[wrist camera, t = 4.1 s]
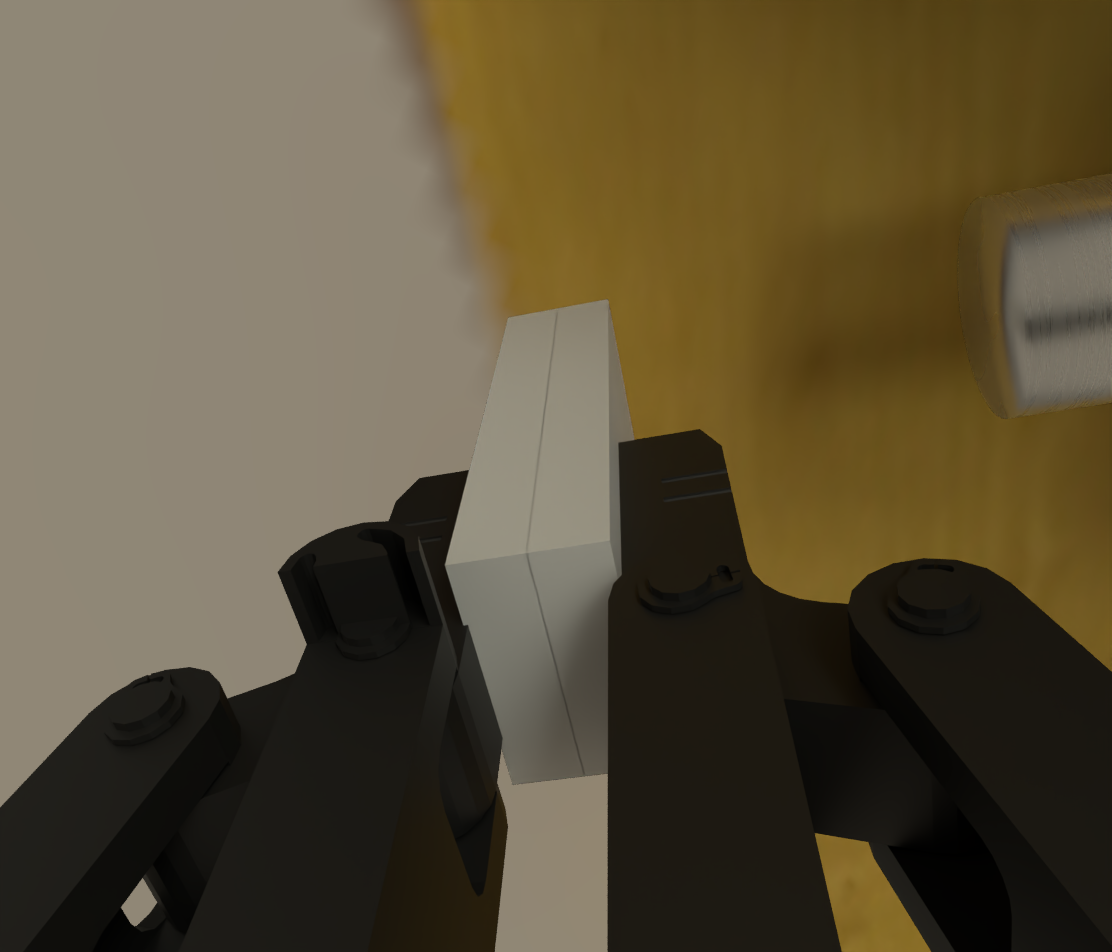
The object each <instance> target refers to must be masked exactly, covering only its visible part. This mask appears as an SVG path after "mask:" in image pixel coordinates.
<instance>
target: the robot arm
mask: <svg viewBox="0 0 1112 952" xmlns="http://www.w3.org/2000/svg"><path fill="white" fill-rule="evenodd" d="M278 574H279V577H280V579H281V582H282V584H283V587H284V589H285V591H286V594H287V596H288V599H289V601H290V604H291V606H292V609H293V611H294V613H295V616H296V618H297V621H298V624H299V626H300V629H301V631H302V633H303V636H304V638H305V641H306V643H307V646H306V648H305V651H304V653H303V655H302V658H301V660H300V663H299V665H298V667H297V670H296V672H295V674H293V675H290V676H288V677H286V678H283V679H281V680H279V681H276V682H273V683H270V684H268V685H265V686H262V687H259V688H256V689H253V690H251V691H248V692H245V693H242V694H239V695H236V696H234V697H231V698H228V699H227V697H226V695H225V693H224V691H223V689H222V686H221V684H220V682H219V681H218V680H217V679H216V678H215V677H214V676H213V675H212V674H211V673H210V672H209V671H205V670H200V669H196V668H191V667H188V668H179V669H170V670H164V671H160V672H157V673H153V674H151V675H149V676H148V675H146V676H144V677H142V678H139V679H137V680H134V681H133V682H131V683H130V684H129V685H128V686H126V687H124V688H122V689H120V690H118V691H117V692H115V693H113V694H111V695H110V696H109V697H108V698H107V699H106V700H104V701H103V702H102V703H101V704H100V705H98V706H97V707H96V708H95V709H94V710H93V711H91V712H90V713H89V714H88V715H87V716H86V717H85V718H84V719H83V720H82V721H81V723H80V724H79V725H78V726H77V727H76V728H75V729H74V730H73V731H72V732H71V733H70V734H69V735H68V736H67V737H66V738H65V739H64V741H63V742H62V743H61V744H60V745H59V746H58V747H57V748H56V749H55V750H54V751H53V752H52V753H51V754H50V755H49V757H47V759H46V760H45V761H44V762H43V763H42V764H41V765H40V766H39V767H38V768H37V769H36V770H35V771H34V772H33V774H31V776H30V777H29V778H28V779H27V780H26V781H25V782H24V783H23V784H22V785H21V786H20V787H19V788H18V789H17V791H16V792H14V794H13V795H12V796H11V797H10V798H9V799H8V800H7V801H6V802H5V803H4V804H3V805H2V806H1V807H0V952H495V942H496V933H497V924H498V915H499V906H500V896H501V887H502V877H503V868H504V858H505V849H506V840H507V829H508V824H507V817H506V811H505V806H504V803H503V800H502V797H501V794H500V790H499V787H498V784H497V778H498V771H499V763H500V755H501V749H502V752H503V755H504V758H505V761H506V765H507V768H508V771H509V774H510V777H511V780H512V784H513V785H516V784H523V783H532V782H541V781H549V780H558V779H566V778H575V777H582V776H591V775H600V774H608V952H842V951H841V947H840V942H839V938H838V934H837V929H836V925H835V921H834V916H833V912H832V908H831V903H830V899H829V894H828V890H827V886H826V881H825V877H824V873H823V868H822V864H821V860H820V855H819V851H818V846H817V842H816V838H815V833H818V834H824V835H830V836H836V837H842V838H848V839H854V840H860V841H866V842H869V845H870V848H871V851H872V853H873V856H874V859H875V860H876V862H877V864H878V865H879V867H880V868H881V870H882V872H883V873H884V875H885V877H886V878H887V880H888V881H889V883H890V885H891V886H892V888H893V890H894V891H895V893H896V895H897V896H898V898H899V899H900V901H901V903H902V904H903V906H904V908H905V909H906V911H907V912H908V914H909V916H910V917H911V919H912V921H913V922H914V924H915V926H916V927H917V929H918V930H919V932H920V934H921V935H922V937H923V939H924V940H925V942H926V944H927V945H928V947H929V948H930V950H931V952H1112V672H1111V671H1110V670H1109V669H1108V668H1107V667H1106V666H1104V665H1103V664H1102V663H1101V662H1100V661H1099V660H1098V659H1097V658H1095V657H1094V656H1093V655H1092V654H1091V653H1090V652H1089V651H1087V650H1086V649H1085V648H1084V647H1083V646H1082V645H1081V644H1080V643H1078V642H1077V641H1076V640H1075V639H1074V638H1073V637H1072V636H1070V635H1069V634H1068V633H1067V632H1066V631H1065V630H1064V629H1062V628H1061V627H1060V626H1059V625H1058V624H1057V623H1056V622H1055V621H1053V620H1052V619H1051V618H1050V617H1049V616H1048V615H1047V614H1045V613H1044V612H1043V611H1042V610H1041V609H1040V608H1039V607H1038V606H1036V605H1035V604H1034V603H1033V602H1032V601H1031V600H1030V599H1028V598H1027V597H1026V596H1025V595H1024V594H1023V593H1022V592H1021V591H1019V590H1018V589H1017V588H1016V587H1015V586H1014V585H1013V584H1011V583H1010V582H1009V581H1007V580H1005V579H1004V578H1002V577H1000V576H999V575H997V574H995V573H994V572H992V571H990V570H989V569H987V568H984V567H980V566H976V565H973V564H969V563H965V562H962V561H958V560H946V559H926V558H923V559H917V560H911V561H905V562H899V563H893V564H891V565H889V566H886V567H884V568H882V569H880V570H877V571H875V572H873V573H871V574H868V575H867V576H866V577H865V578H864V579H863V580H862V581H861V582H860V583H859V584H858V585H857V586H856V587H855V588H854V589H853V590H852V593H851V597H850V601H849V604H841V603H827V602H818V601H811V600H804V599H798V598H795V597H792V596H789V595H786V594H783V593H780V592H778V591H776V590H774V589H772V588H771V587H769V586H767V585H765V584H764V583H763V582H762V581H761V580H760V579H759V578H758V577H757V576H756V575H755V574H754V573H753V572H752V570H751V567H750V565H749V563H748V560H747V556H746V552H745V547H744V543H743V538H742V534H741V530H740V525H739V521H738V516H737V512H736V508H735V503H734V499H733V494H732V491H731V486H730V481H729V477H728V473H727V468H726V464H725V459H724V455H723V450H722V446H721V445H720V444H718V443H717V442H716V441H714V440H713V439H712V438H711V437H709V436H708V435H707V434H705V433H704V432H703V431H701V430H700V429H698V430H692V431H686V432H680V433H674V434H668V435H661V436H655V437H649V438H643V439H637V440H635V439H634V434H633V429H632V423H631V418H630V413H629V407H628V402H627V397H626V391H625V386H624V381H623V376H622V370H621V365H620V360H619V354H618V349H617V344H616V338H615V333H614V328H613V322H612V317H611V312H610V307H609V301H608V299H606V300H601V301H595V302H590V303H584V304H579V305H574V306H568V307H563V308H557V309H552V310H546V311H541V312H536V313H530V314H525V315H519V316H514V317H508V320H507V324H506V328H505V332H504V336H503V340H502V344H501V348H500V352H499V355H498V359H497V363H496V367H495V371H494V375H493V379H492V383H491V387H490V391H489V395H488V399H487V402H486V406H485V410H484V414H483V418H482V422H481V426H480V430H479V434H478V438H477V442H476V446H475V450H474V454H473V458H472V461H471V465H470V469H469V470H467V471H461V472H455V473H448V474H442V475H437V476H430V477H424V478H419V479H418V480H417V481H416V482H415V483H414V484H413V485H412V486H411V487H410V488H409V489H408V490H407V491H406V492H405V493H404V494H403V495H402V496H401V497H400V498H399V499H398V500H397V501H396V503H395V505H394V508H393V511H392V514H391V516H390V519H389V521H386V522H368V523H360V524H357V525H353V526H349V527H345V528H341V529H337V530H335V531H333V532H331V533H328V534H326V535H324V536H321V537H319V538H317V539H315V540H313V541H311V542H309V543H308V544H307V545H305V546H304V547H302V548H301V549H300V550H298V551H297V552H295V553H294V554H293V555H291V556H290V557H289V559H288V560H287V561H286V562H285V564H284V565H283V566H282V567H281V569H280V570H279V571H278ZM142 878H143V879H144V880H145V882H146V884H147V886H148V887H149V889H150V891H151V892H152V894H153V896H154V898H155V899H156V901H157V904H156V905H155V907H154V908H153V910H152V911H151V912H150V914H149V915H148V916H147V917H146V918H144V920H142V921H141V922H140V923H139V924H138V925H137V926H135V927H134V926H133V925H132V924H131V923H130V922H129V920H128V919H127V917H126V915H125V914H124V912H123V910H122V909H121V906H122V905H123V904H124V902H125V901H126V900H127V898H128V897H129V896H130V894H131V893H132V891H133V890H134V889H135V887H136V886H137V885H138V883H139V882H140V881H141V879H142Z"/></svg>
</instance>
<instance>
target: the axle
mask: <svg viewBox="0 0 1112 952" xmlns="http://www.w3.org/2000/svg"><path fill="white" fill-rule="evenodd" d="M957 272H958V297H959V308H960V316H961V323H962V329H963V335H964V340H965V345H966V349H967V353H968V358H969V361H970V365H971V368H972V371H973V374H974V377H975V380H976V382H977V385H978V387H979V390H980V392H981V394H982V396H983V398H984V400H985V401H986V403H987V405H988V406H989V407H990V409H991V410H992V411H993V412H994V413H995V414H996V415H997V416H999V417H1000V418H1003V419H1010V418H1016V417H1023V416H1029V415H1036V414H1043V413H1049V412H1056V411H1062V410H1069V409H1075V408H1082V407H1089V406H1095V405H1102V404H1108V403H1112V173H1109V174H1104V175H1098V176H1093V177H1088V178H1082V179H1077V180H1071V181H1066V182H1061V183H1055V184H1050V185H1044V186H1039V187H1033V188H1028V189H1023V190H1017V191H1012V192H1006V193H1001V194H995V195H990V196H985V197H979V198H977V199H975V200H974V201H973V202H972V203H971V204H970V206H969V208H968V209H967V212H966V214H965V217H964V220H963V223H962V228H961V233H960V239H959V248H958V268H957Z"/></svg>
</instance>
